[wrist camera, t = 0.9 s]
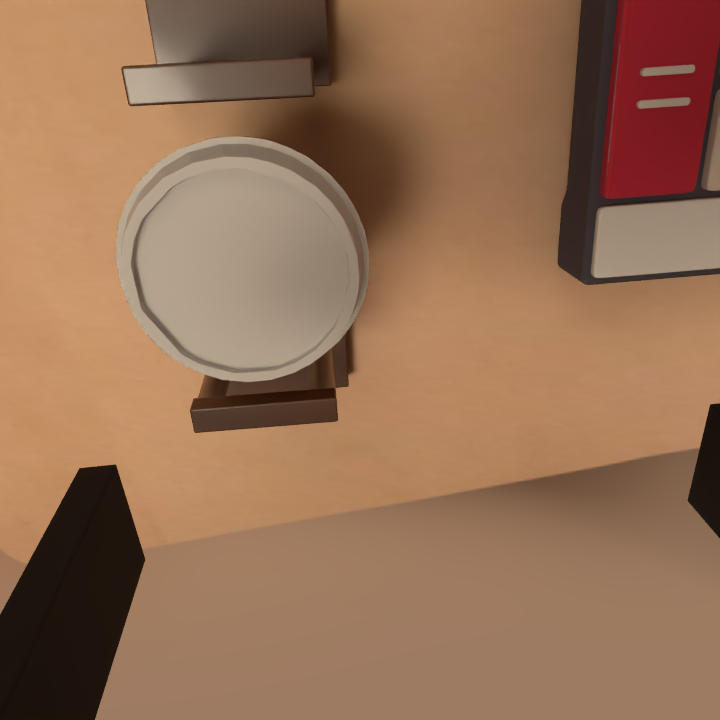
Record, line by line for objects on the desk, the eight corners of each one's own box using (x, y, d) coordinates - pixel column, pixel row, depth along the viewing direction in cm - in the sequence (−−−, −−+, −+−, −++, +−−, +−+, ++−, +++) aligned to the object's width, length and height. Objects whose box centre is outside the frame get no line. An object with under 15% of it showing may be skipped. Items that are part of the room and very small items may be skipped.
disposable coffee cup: (155, 116, 30) (74, 151, 20) (345, 105, 31) (366, 132, 20) (189, 295, 35) (138, 402, 24) (355, 282, 35) (377, 382, 24)
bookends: (147, -28, 27) (60, -73, 18) (322, -35, 28) (332, -82, 18) (218, 385, 37) (187, 502, 28) (347, 375, 38) (362, 487, 28)
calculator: (868, -66, 26) (789, 273, 32) (795, -45, 30) (736, 253, 36) (619, -51, 25) (586, 290, 32) (577, -32, 29) (555, 268, 35)
